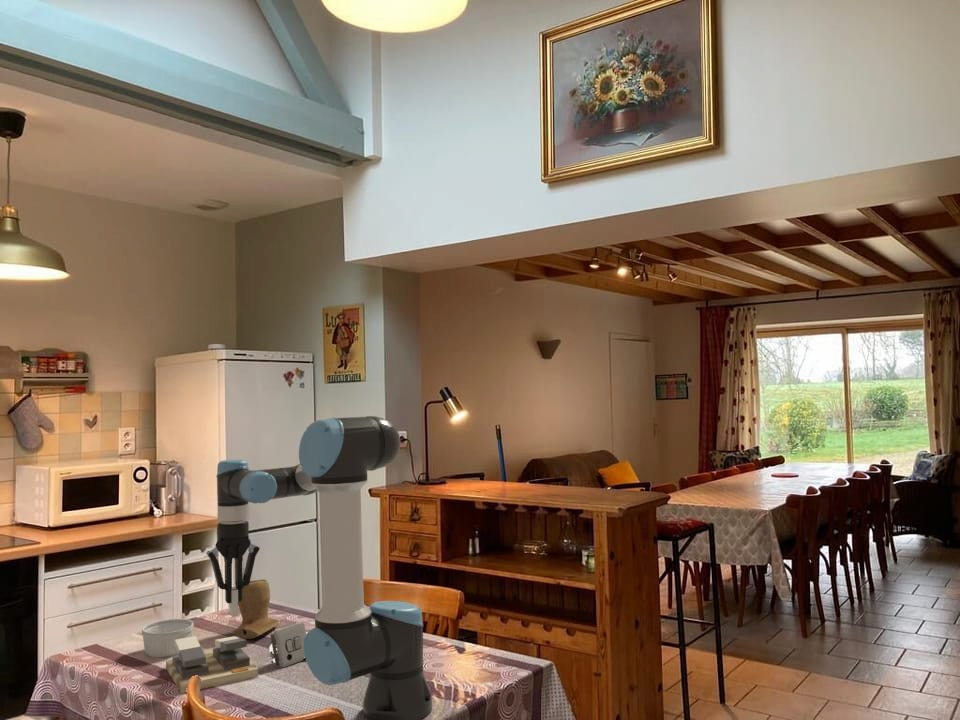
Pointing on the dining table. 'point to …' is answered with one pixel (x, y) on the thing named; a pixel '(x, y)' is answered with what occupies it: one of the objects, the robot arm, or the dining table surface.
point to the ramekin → (165, 636)
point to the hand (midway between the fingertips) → (233, 615)
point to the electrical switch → (289, 644)
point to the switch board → (213, 669)
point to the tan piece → (255, 610)
